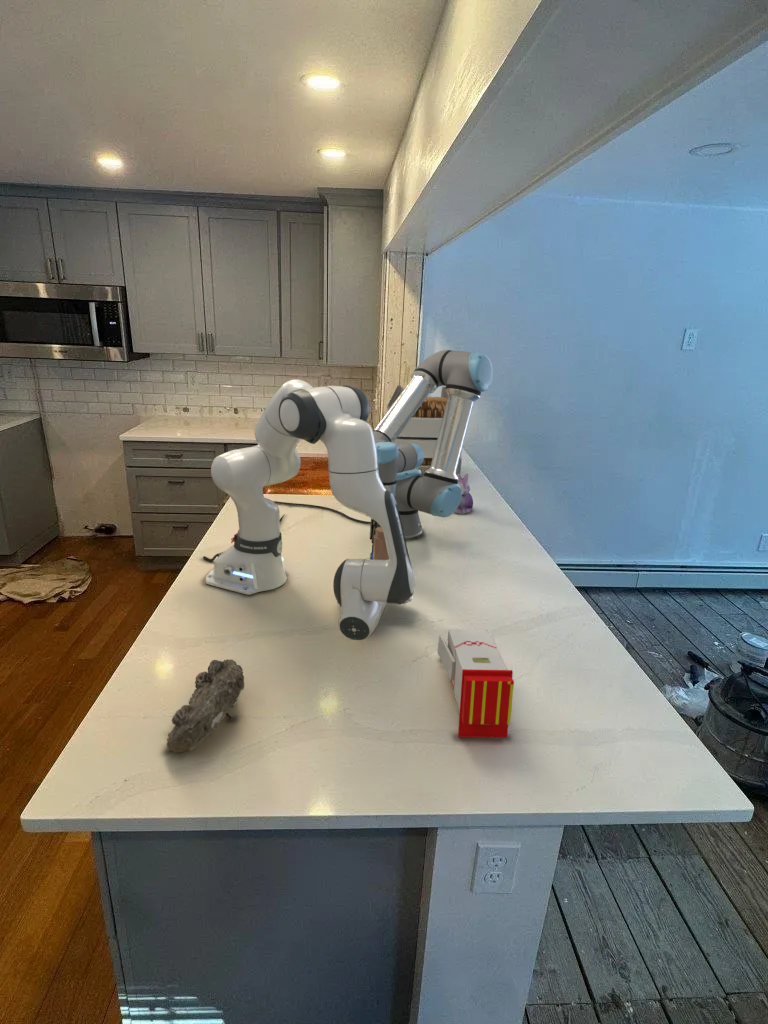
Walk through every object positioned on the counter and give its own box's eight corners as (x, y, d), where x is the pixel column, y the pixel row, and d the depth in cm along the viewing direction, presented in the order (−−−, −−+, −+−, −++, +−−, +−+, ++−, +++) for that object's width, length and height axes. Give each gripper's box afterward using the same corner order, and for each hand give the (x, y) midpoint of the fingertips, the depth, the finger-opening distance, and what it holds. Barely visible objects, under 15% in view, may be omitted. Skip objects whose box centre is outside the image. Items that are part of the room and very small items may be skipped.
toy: (488, 613, 130) (523, 677, 101) (484, 667, 133) (517, 744, 104) (435, 612, 130) (455, 676, 101) (432, 666, 133) (451, 743, 103)
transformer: (382, 463, 289) (386, 382, 275) (445, 464, 293) (451, 384, 279) (390, 482, 257) (394, 392, 243) (460, 483, 261) (468, 394, 247)
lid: (377, 566, 169) (378, 559, 168) (366, 560, 172) (366, 553, 172) (391, 562, 172) (392, 555, 171) (380, 556, 176) (380, 549, 175)
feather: (291, 508, 223) (294, 504, 222) (274, 533, 196) (277, 528, 195) (287, 506, 222) (290, 502, 222) (270, 530, 196) (272, 526, 195)
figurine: (459, 516, 220) (463, 478, 214) (445, 507, 228) (448, 471, 223) (479, 513, 224) (483, 476, 219) (464, 505, 232) (468, 469, 227)
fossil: (192, 660, 117) (244, 628, 112) (224, 691, 120) (276, 661, 115) (142, 746, 98) (202, 712, 93) (182, 779, 101) (242, 748, 96)
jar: (388, 592, 158) (391, 526, 151) (388, 601, 154) (391, 533, 147) (371, 592, 158) (374, 525, 152) (370, 600, 154) (373, 532, 147)
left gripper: (411, 591, 139) (419, 568, 152) (331, 580, 143) (346, 558, 155) (410, 614, 141) (418, 589, 154) (331, 602, 145) (345, 579, 158)
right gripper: (361, 487, 172) (358, 557, 180) (380, 506, 156) (376, 582, 164) (384, 486, 175) (380, 555, 182) (406, 505, 158) (401, 580, 166)
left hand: (381, 573), depth 155 cm, fingers closed on jar, 4 cm apart
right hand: (378, 568), depth 173 cm, fingers closed on lid, 5 cm apart
